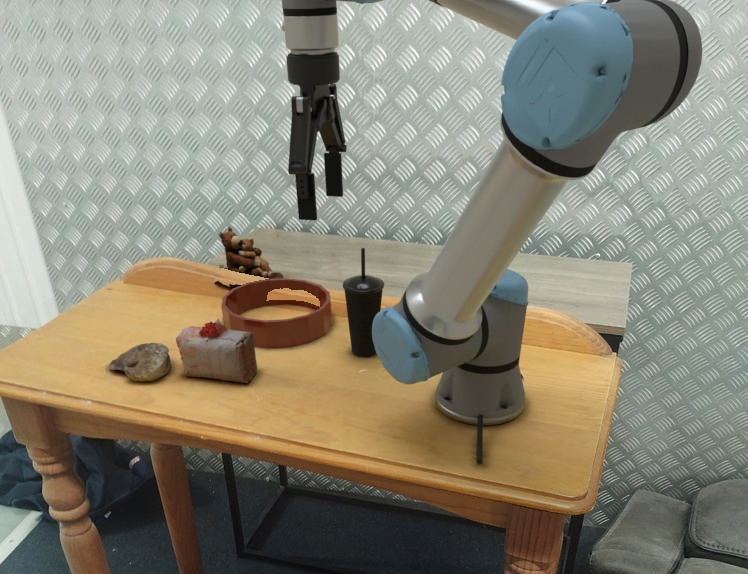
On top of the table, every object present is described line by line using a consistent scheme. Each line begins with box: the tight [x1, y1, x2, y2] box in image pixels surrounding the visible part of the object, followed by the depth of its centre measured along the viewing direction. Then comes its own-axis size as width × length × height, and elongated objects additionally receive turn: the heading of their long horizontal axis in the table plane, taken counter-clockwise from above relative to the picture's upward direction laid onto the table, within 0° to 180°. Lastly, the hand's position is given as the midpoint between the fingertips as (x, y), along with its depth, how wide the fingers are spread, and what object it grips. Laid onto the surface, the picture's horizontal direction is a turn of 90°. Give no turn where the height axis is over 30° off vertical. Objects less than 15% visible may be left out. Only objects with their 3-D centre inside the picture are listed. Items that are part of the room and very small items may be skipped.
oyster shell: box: [108, 342, 172, 382], centre depth 132 cm, size 10×12×5 cm
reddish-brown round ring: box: [220, 277, 333, 349], centre depth 147 cm, size 22×22×6 cm
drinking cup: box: [342, 247, 385, 358], centre depth 133 cm, size 8×8×20 cm
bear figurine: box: [217, 226, 285, 279], centre depth 164 cm, size 14×15×12 cm
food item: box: [175, 318, 258, 384], centre depth 129 cm, size 14×8×10 cm, turn 75°
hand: (322, 207), depth 114 cm, fingers open, 13 cm apart
